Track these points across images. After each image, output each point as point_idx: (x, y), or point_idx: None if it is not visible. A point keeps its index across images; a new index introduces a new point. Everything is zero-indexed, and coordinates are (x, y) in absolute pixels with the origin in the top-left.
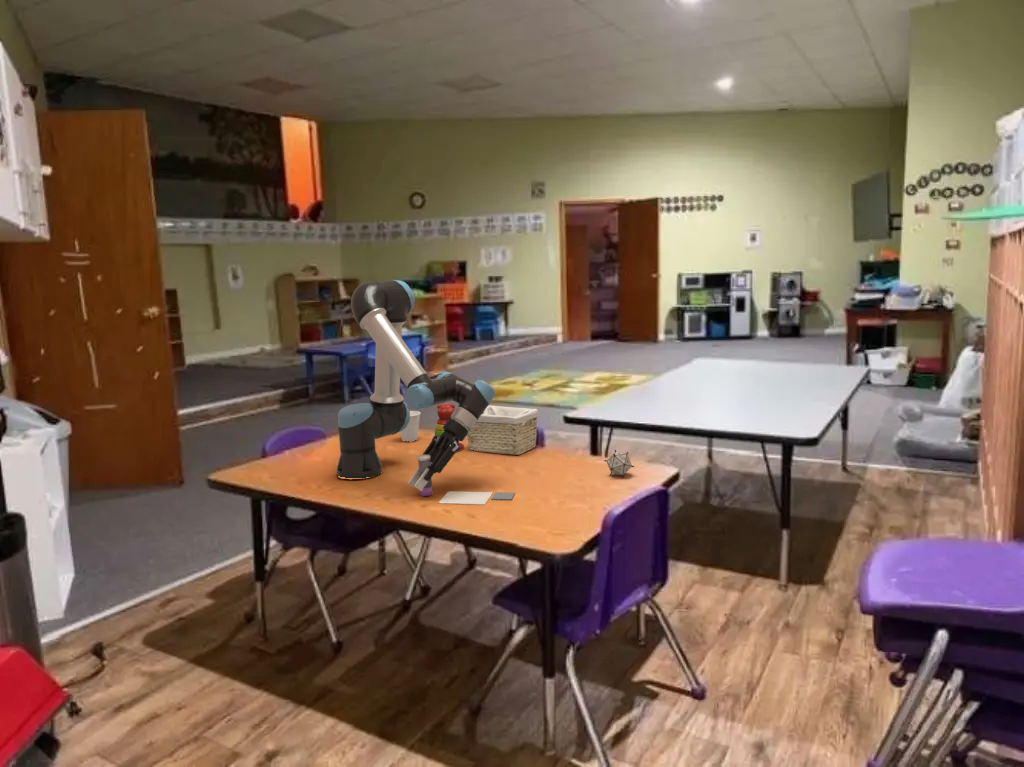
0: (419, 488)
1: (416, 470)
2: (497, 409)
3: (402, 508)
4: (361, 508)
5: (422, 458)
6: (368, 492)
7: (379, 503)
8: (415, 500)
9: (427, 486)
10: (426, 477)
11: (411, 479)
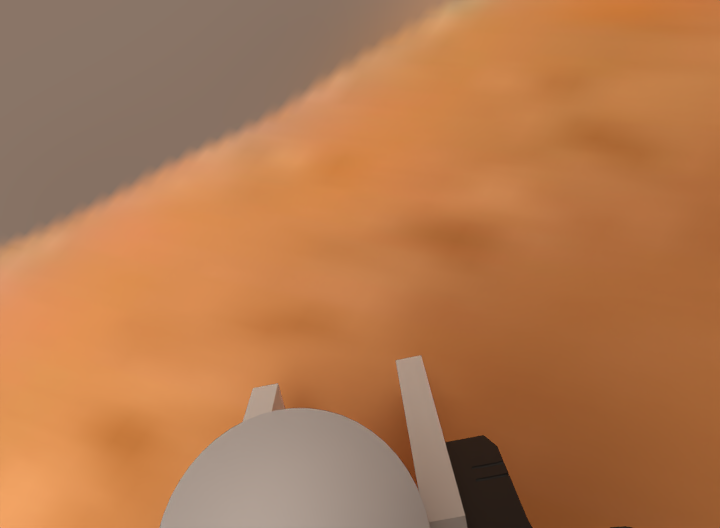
0: None
1: (443, 447)
2: None
3: (178, 285)
4: (335, 81)
5: (190, 469)
6: (666, 151)
7: (370, 177)
8: None
9: None
10: None
11: (401, 384)
